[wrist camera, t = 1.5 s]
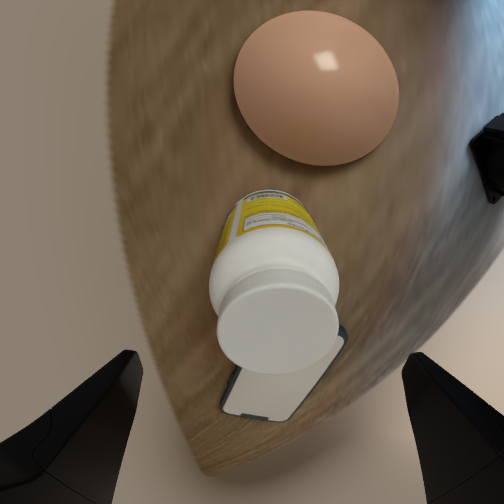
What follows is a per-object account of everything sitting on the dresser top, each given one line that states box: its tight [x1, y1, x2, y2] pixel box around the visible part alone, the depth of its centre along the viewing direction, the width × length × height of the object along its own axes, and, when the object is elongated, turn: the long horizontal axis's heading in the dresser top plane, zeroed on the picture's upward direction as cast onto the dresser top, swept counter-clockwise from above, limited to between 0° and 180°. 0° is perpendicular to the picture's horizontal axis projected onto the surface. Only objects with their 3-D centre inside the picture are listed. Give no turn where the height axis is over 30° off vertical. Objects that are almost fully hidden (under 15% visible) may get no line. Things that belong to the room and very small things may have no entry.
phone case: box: [220, 326, 348, 422], centre depth 27 cm, size 9×2×16 cm
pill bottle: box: [209, 190, 339, 375], centre depth 15 cm, size 6×6×11 cm
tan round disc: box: [234, 11, 399, 166], centre depth 15 cm, size 11×11×1 cm
